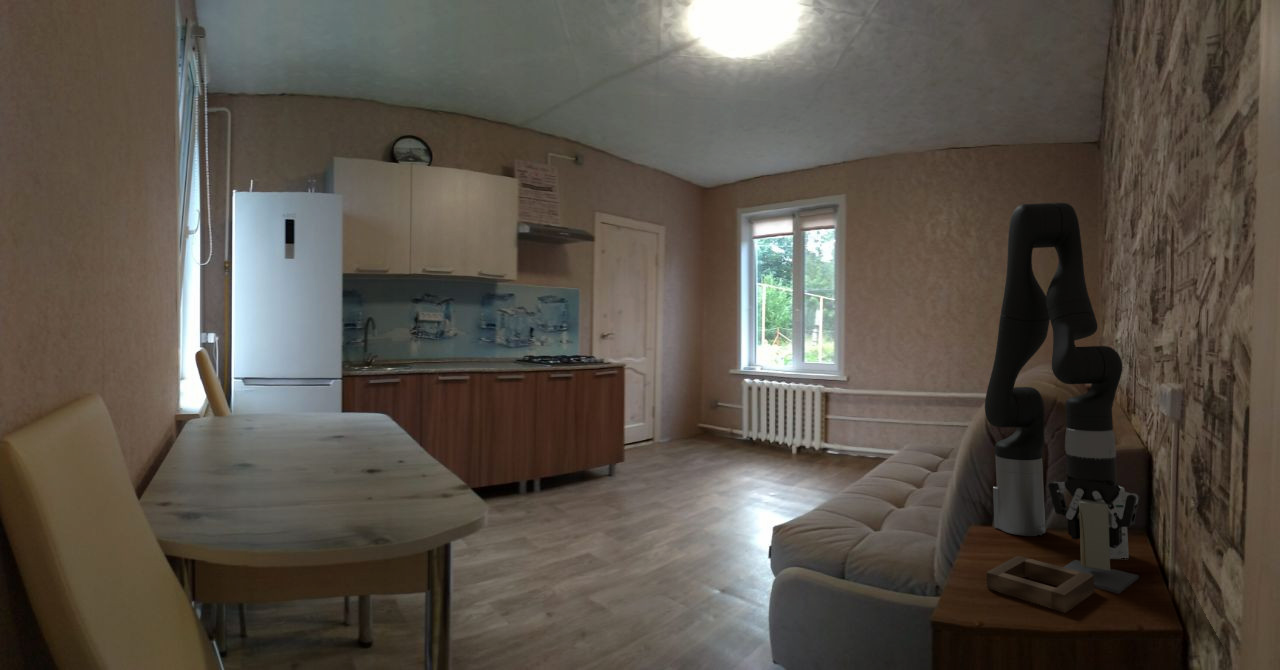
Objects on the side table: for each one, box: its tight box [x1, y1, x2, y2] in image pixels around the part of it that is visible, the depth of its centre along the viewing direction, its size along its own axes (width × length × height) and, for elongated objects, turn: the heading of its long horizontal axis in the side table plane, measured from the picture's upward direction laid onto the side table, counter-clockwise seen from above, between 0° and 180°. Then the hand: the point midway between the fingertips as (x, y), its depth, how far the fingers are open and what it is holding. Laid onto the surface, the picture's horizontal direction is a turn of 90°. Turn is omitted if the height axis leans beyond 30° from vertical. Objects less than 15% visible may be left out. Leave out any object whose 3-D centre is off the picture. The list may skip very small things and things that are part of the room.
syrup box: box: [1109, 485, 1130, 560], centre depth 121 cm, size 6×6×14 cm
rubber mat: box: [1063, 559, 1139, 595], centre depth 111 cm, size 10×10×1 cm
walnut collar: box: [985, 555, 1095, 614], centre depth 106 cm, size 12×12×3 cm
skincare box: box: [1078, 499, 1111, 570], centre depth 111 cm, size 6×4×12 cm
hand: (1094, 542), depth 111 cm, fingers closed on skincare box, 5 cm apart
